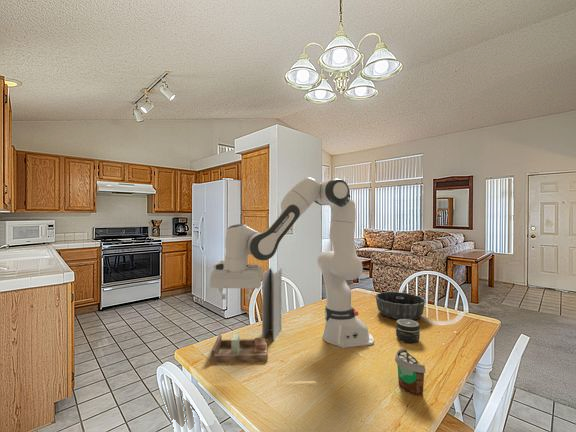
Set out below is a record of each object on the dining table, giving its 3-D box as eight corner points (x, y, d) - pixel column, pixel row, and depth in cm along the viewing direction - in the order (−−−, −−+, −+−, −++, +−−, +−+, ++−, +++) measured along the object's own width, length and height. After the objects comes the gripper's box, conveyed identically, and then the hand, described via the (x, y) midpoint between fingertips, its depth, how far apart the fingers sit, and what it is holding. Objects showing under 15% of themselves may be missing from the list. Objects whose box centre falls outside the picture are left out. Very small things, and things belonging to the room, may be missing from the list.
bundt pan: (383, 304, 179) (383, 288, 179) (430, 313, 164) (430, 295, 164) (368, 317, 158) (368, 298, 158) (420, 328, 142) (420, 308, 142)
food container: (388, 376, 100) (388, 348, 100) (405, 376, 100) (405, 347, 100) (406, 399, 87) (406, 367, 87) (425, 398, 88) (425, 366, 88)
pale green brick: (239, 349, 118) (239, 333, 118) (237, 356, 112) (237, 340, 112) (233, 349, 118) (233, 333, 118) (231, 356, 112) (231, 340, 112)
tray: (268, 345, 123) (268, 334, 123) (267, 362, 109) (267, 349, 109) (218, 346, 122) (218, 335, 122) (211, 364, 108) (211, 350, 108)
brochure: (274, 342, 126) (274, 274, 126) (262, 341, 127) (262, 273, 127) (281, 329, 140) (281, 268, 140) (270, 328, 141) (270, 267, 141)
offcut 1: (264, 342, 120) (264, 337, 120) (265, 349, 113) (265, 344, 113) (254, 343, 119) (254, 338, 119) (255, 350, 113) (255, 345, 113)
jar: (423, 339, 130) (423, 322, 130) (415, 346, 122) (415, 328, 122) (400, 332, 137) (401, 316, 136) (392, 339, 129) (392, 322, 129)
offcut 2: (266, 347, 120) (266, 342, 120) (265, 357, 112) (265, 351, 112) (255, 348, 120) (255, 342, 120) (254, 357, 112) (254, 352, 112)
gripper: (262, 263, 119) (262, 297, 119) (212, 262, 118) (212, 296, 118) (261, 266, 112) (261, 301, 112) (208, 265, 112) (208, 301, 112)
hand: (235, 299), depth 115 cm, fingers open, 8 cm apart
